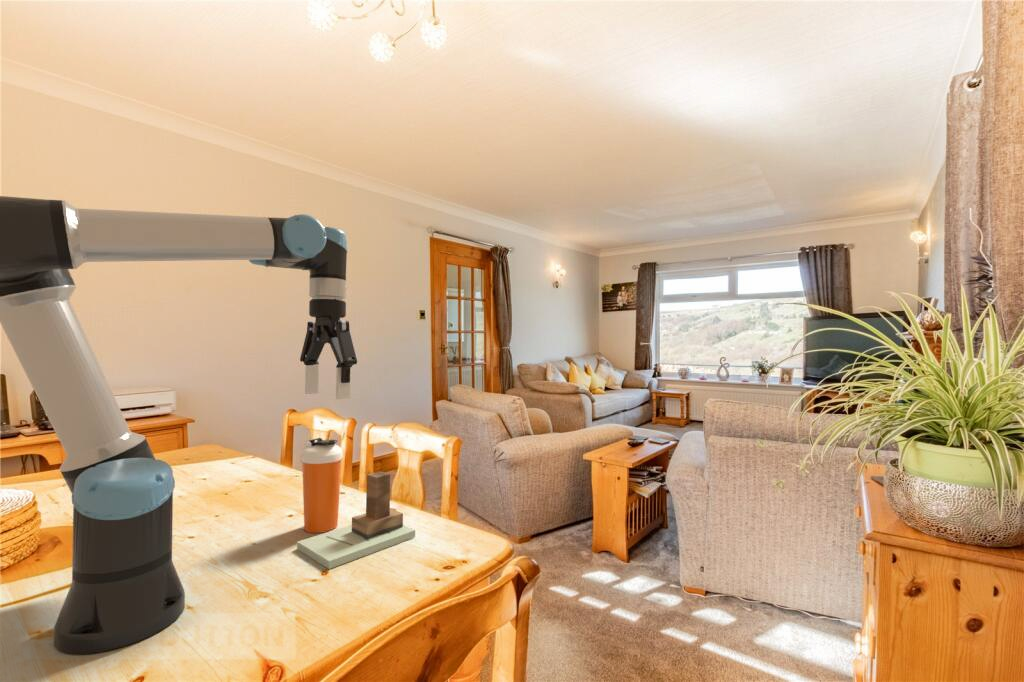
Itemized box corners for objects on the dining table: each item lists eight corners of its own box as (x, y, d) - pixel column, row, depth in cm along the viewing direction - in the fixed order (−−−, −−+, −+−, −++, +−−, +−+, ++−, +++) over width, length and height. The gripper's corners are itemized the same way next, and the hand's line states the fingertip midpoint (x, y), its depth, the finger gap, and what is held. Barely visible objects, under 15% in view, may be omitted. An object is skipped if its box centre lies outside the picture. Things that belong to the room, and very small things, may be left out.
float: (367, 538, 99) (368, 481, 99) (351, 531, 103) (352, 475, 103) (402, 526, 106) (403, 472, 106) (386, 520, 109) (387, 468, 110)
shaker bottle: (327, 536, 104) (328, 445, 104) (291, 532, 105) (292, 443, 105) (349, 521, 112) (350, 437, 112) (315, 518, 114) (316, 435, 114)
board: (329, 569, 89) (329, 560, 89) (297, 549, 97) (297, 541, 97) (415, 536, 104) (415, 529, 104) (380, 522, 112) (381, 515, 112)
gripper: (375, 297, 99) (373, 399, 99) (316, 303, 115) (315, 390, 115) (341, 294, 93) (340, 402, 93) (285, 301, 109) (284, 392, 109)
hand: (326, 396), depth 104 cm, fingers open, 13 cm apart
